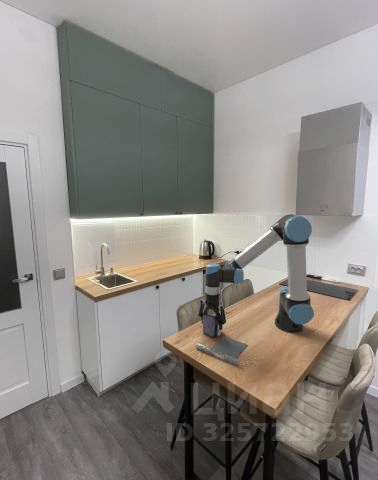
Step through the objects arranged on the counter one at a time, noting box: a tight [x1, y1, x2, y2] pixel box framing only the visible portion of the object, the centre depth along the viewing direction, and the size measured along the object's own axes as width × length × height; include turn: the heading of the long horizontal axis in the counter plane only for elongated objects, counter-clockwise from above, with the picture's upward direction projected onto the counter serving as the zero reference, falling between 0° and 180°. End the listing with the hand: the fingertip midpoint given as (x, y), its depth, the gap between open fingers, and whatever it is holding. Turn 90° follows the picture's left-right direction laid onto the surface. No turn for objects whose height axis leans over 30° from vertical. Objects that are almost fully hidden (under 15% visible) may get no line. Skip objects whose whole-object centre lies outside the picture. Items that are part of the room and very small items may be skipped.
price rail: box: [195, 342, 240, 367], centre depth 116 cm, size 22×2×2 cm, turn 54°
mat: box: [210, 335, 248, 359], centre depth 122 cm, size 13×15×1 cm
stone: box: [202, 312, 219, 338], centre depth 135 cm, size 12×10×10 cm
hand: (211, 331), depth 135 cm, fingers closed on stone, 9 cm apart
